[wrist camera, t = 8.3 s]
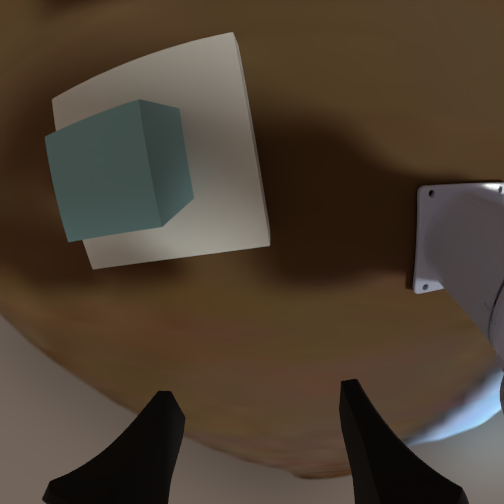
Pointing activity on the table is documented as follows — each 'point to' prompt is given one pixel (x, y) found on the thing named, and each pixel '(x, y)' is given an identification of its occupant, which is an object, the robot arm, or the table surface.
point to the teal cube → (120, 170)
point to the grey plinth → (187, 150)
